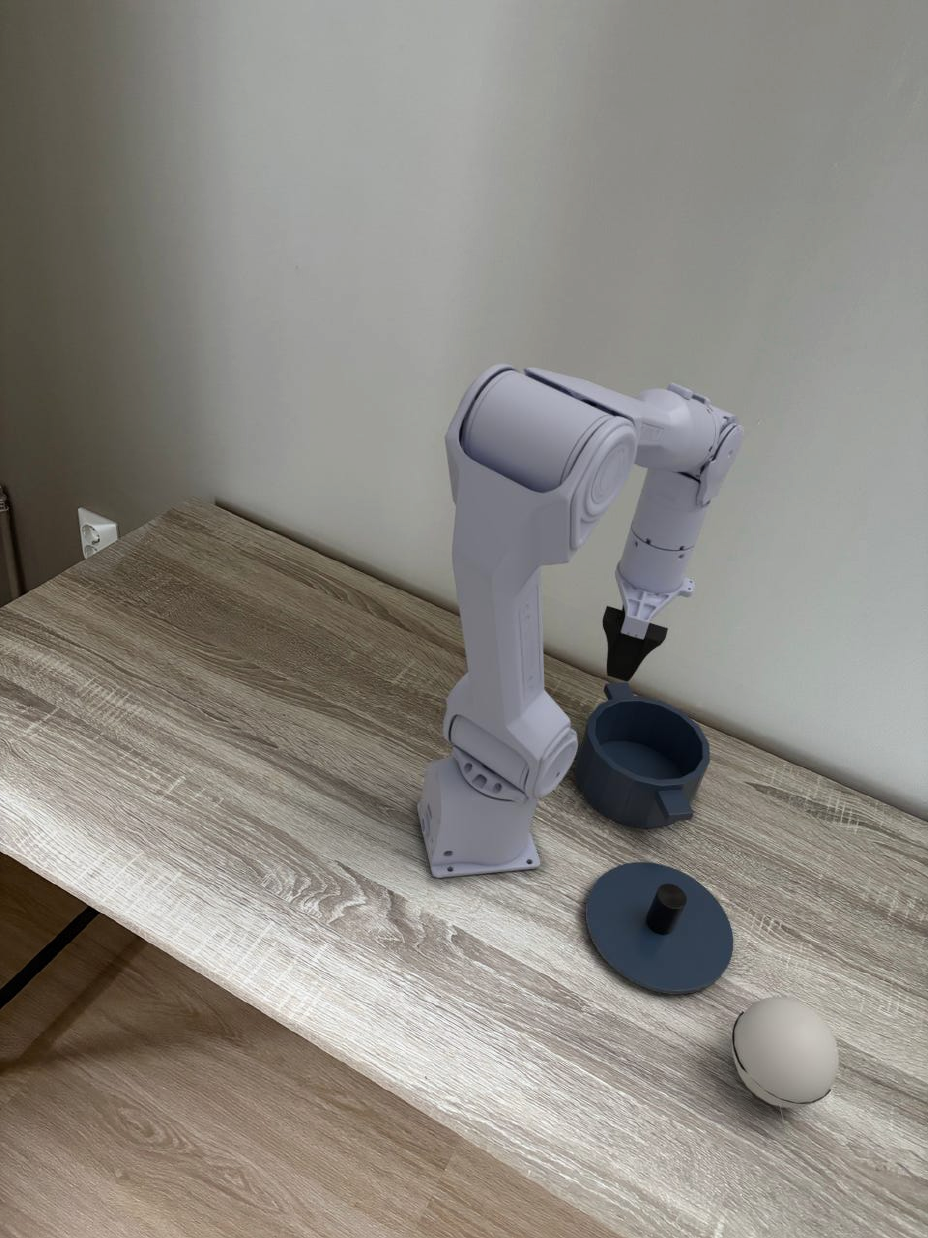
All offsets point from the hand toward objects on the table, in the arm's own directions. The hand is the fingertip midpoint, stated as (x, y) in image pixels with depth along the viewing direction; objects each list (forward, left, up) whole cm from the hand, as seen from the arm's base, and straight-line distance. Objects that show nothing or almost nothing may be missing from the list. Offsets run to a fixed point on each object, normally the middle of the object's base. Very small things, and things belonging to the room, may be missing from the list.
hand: (625, 652), depth 93 cm
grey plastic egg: (0, -37, -11) cm, 38 cm away
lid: (-3, -23, -10) cm, 25 cm away
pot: (+1, -7, -10) cm, 13 cm away
